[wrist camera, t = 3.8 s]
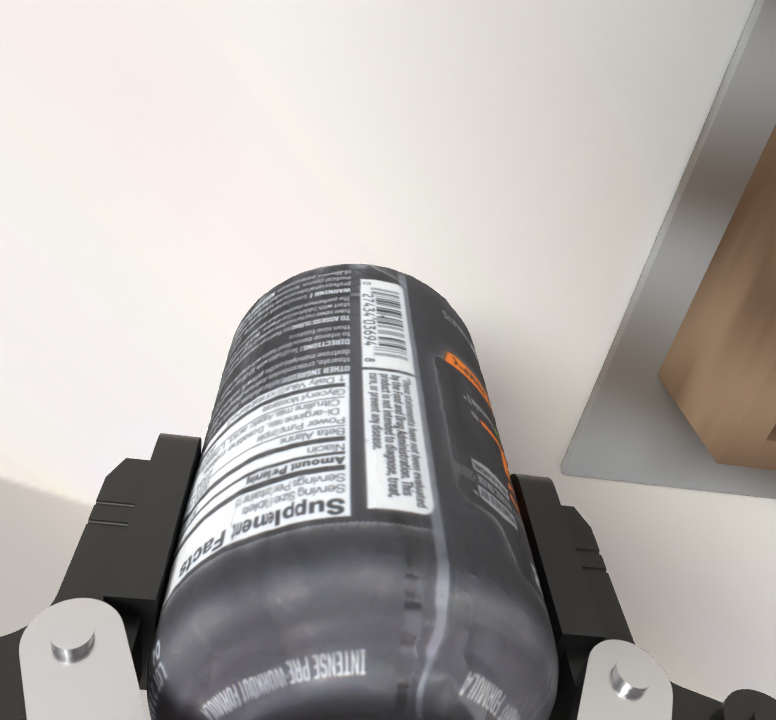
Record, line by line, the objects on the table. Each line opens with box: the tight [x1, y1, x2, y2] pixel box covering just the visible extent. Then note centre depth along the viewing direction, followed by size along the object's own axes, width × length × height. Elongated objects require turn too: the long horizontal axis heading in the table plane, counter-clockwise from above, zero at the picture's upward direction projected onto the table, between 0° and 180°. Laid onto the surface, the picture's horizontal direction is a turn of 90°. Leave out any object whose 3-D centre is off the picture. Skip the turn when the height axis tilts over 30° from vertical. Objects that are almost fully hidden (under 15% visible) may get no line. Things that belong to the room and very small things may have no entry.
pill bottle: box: [147, 264, 559, 720], centre depth 12 cm, size 6×6×11 cm
